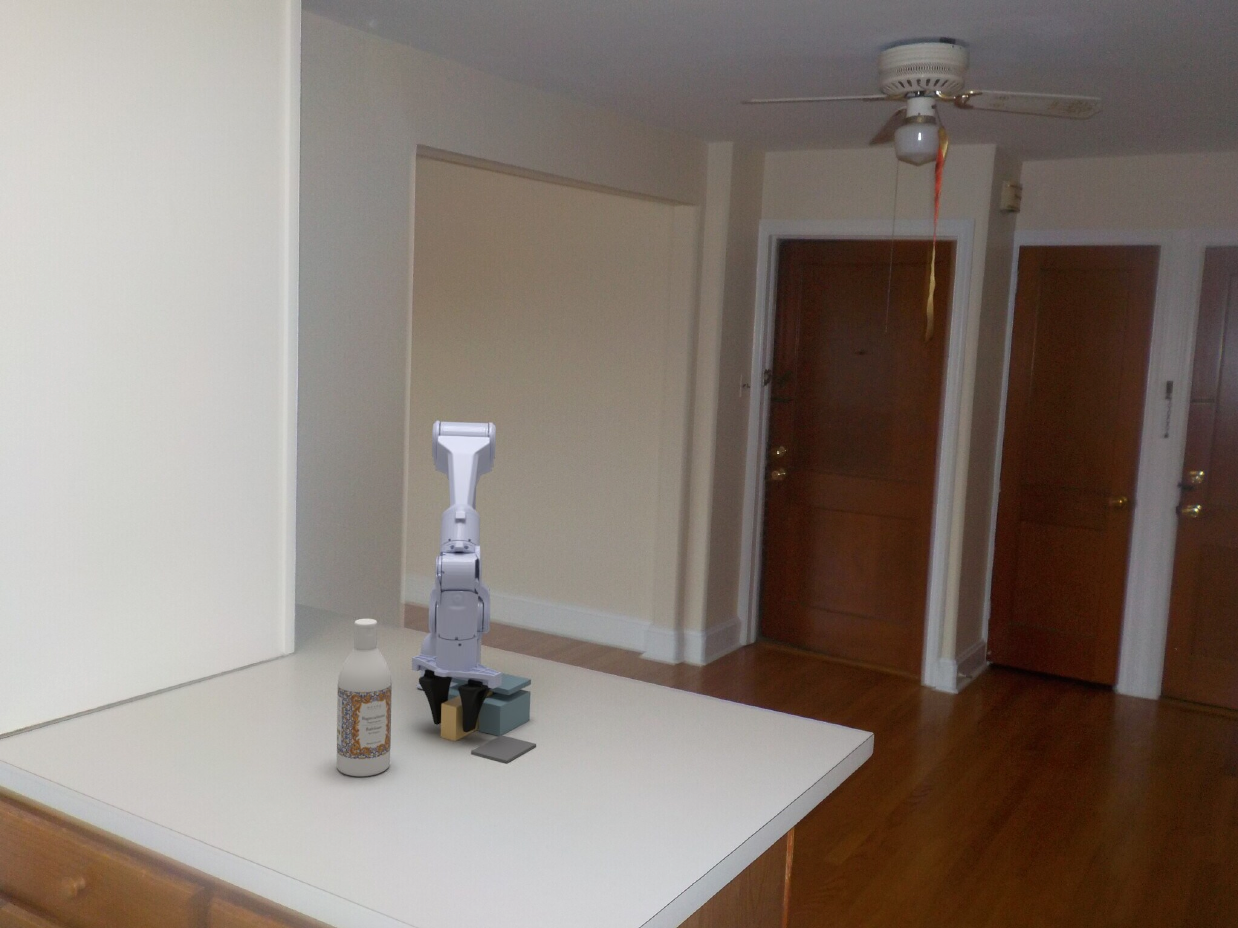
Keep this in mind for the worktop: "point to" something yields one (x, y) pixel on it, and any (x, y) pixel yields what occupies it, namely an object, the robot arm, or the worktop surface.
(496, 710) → the teal block stack
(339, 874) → the worktop surface
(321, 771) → the worktop surface
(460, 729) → the tan grooved block
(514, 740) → the pad
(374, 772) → the bath foam
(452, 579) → the robot arm
